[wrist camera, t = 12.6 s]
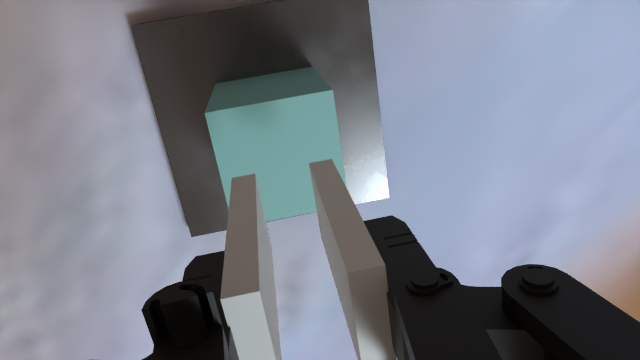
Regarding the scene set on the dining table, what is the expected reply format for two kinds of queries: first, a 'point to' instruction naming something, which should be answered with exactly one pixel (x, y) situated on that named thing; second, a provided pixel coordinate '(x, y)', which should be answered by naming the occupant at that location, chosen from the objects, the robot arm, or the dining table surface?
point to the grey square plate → (255, 60)
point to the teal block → (275, 136)
